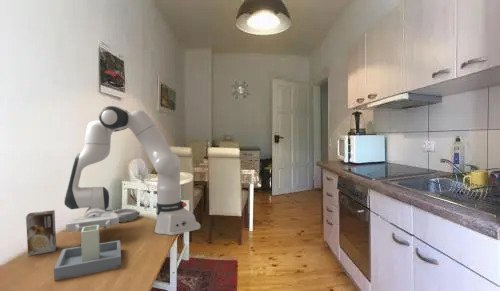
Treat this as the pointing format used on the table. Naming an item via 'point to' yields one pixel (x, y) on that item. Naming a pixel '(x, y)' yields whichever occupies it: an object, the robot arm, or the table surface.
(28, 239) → the coffee box
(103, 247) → the grey tray
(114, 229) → the table surface
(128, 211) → the dish
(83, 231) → the small tall open container
